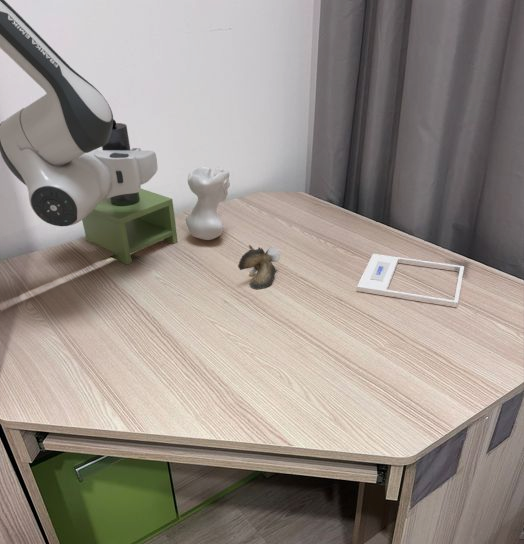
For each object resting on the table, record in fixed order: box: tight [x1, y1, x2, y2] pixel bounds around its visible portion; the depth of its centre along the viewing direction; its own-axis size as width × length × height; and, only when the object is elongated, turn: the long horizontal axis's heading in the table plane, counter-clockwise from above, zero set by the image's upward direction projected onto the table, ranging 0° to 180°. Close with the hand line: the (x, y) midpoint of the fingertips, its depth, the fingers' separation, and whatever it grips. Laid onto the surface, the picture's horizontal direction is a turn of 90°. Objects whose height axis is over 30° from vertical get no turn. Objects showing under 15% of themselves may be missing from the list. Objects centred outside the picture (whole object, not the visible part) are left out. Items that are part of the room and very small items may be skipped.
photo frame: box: [356, 253, 465, 308], centre depth 103 cm, size 15×1×18 cm
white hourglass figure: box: [185, 166, 231, 241], centre depth 118 cm, size 10×11×15 cm
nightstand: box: [81, 188, 179, 266], centre depth 117 cm, size 14×14×10 cm
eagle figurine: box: [237, 244, 281, 290], centre depth 104 cm, size 8×7×9 cm
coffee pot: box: [101, 118, 140, 206], centre depth 110 cm, size 10×6×16 cm, turn 174°
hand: (114, 152), depth 107 cm, fingers open, 8 cm apart
